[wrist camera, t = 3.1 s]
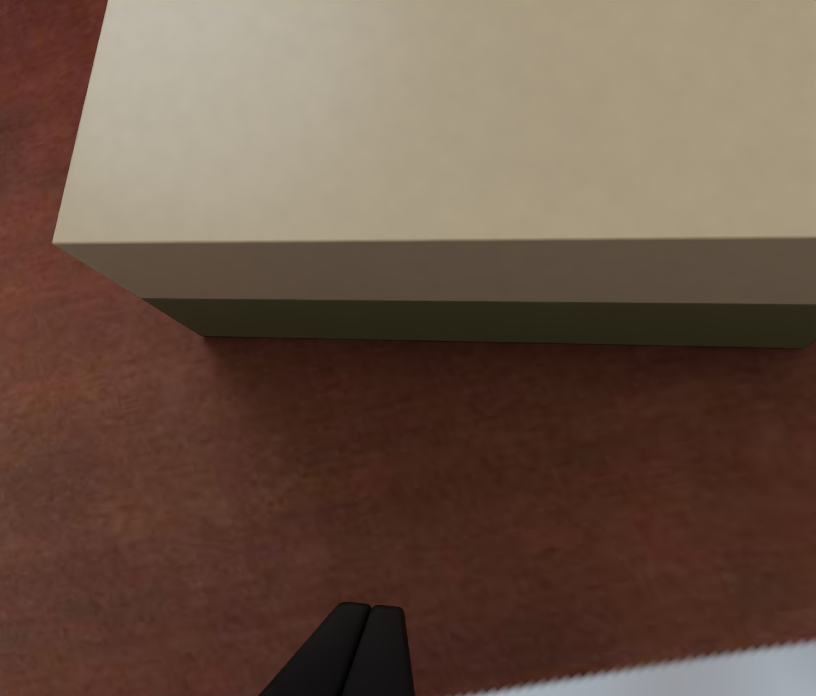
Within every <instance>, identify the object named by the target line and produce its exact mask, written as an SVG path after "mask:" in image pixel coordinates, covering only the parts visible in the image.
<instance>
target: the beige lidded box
mask: <svg viewBox="0 0 816 696" xmlns="http://www.w3.org/2000/svg"><path fill="white" fill-rule="evenodd" d="M52 242H53V244H54V245H55V246H57V247H58V248H60V249H62V250H63V251H65V252H67V253H68V254H70V255H71V256H73V257H75V258H76V259H78V260H79V261H81V262H83V263H84V264H86V265H87V266H89V267H91V268H92V269H94V270H96V271H97V272H99V273H100V274H102V275H104V276H105V277H107V278H108V279H110V280H112V281H113V282H115V283H116V284H118V285H120V286H121V287H123V288H125V289H126V290H128V291H129V292H131V293H133V294H134V295H136V296H137V297H139V298H141V299H143V300H144V301H146V302H147V303H149V304H151V305H152V306H154V307H155V308H157V309H159V310H160V311H162V312H163V313H165V314H167V315H168V316H170V317H172V318H173V319H175V320H176V321H178V322H180V323H181V324H183V325H184V326H186V327H188V328H189V329H191V330H192V331H194V332H196V333H197V334H199V335H201V336H225V337H274V338H323V339H372V340H421V341H470V342H519V343H568V344H617V345H666V346H715V347H764V348H805V347H806V346H808V345H809V344H810V343H812V342H813V341H815V340H816V0H108V3H107V8H106V12H105V16H104V21H103V25H102V29H101V34H100V38H99V42H98V47H97V51H96V55H95V60H94V64H93V68H92V73H91V77H90V81H89V86H88V90H87V94H86V99H85V103H84V107H83V112H82V116H81V120H80V125H79V129H78V133H77V138H76V142H75V146H74V151H73V155H72V159H71V164H70V168H69V172H68V176H67V181H66V185H65V189H64V194H63V198H62V202H61V207H60V211H59V215H58V220H57V224H56V228H55V233H54V237H53V241H52Z"/></svg>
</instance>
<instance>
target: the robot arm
mask: <svg viewBox="0 0 816 696" xmlns="http://www.w3.org/2000/svg"><path fill="white" fill-rule="evenodd" d="M259 696H415V691H414V684H413V676H412V668H411V661H410V653H409V646H408V638H407V630H406V623H405V615H404V610H403V609H402V608H401V607H395V606H384V605H375V606H374V607H373V608H372V607H371V606H370V605H369V604H364V603H354V602H342V603H340V604H339V605H337V606H336V607H335V608H334V610H333V611H332V612H331V613H330V614H329V615H328V617H327V618H326V619H325V620H324V621H323V622H322V623H321V625H320V626H319V627H318V628H317V629H316V630H315V631H314V633H313V634H312V635H311V636H310V637H309V638H308V639H307V641H306V642H305V643H304V644H303V645H302V646H301V647H300V649H299V650H298V651H297V652H296V653H295V654H294V656H293V657H292V658H291V659H290V660H289V661H288V662H287V664H286V665H285V666H284V667H283V668H282V669H281V670H280V672H279V673H278V674H277V675H276V676H275V677H274V678H273V680H272V681H271V682H270V683H269V684H268V685H267V686H266V688H265V689H264V690H263V691H262V692H261V693H260V695H259Z"/></svg>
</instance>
